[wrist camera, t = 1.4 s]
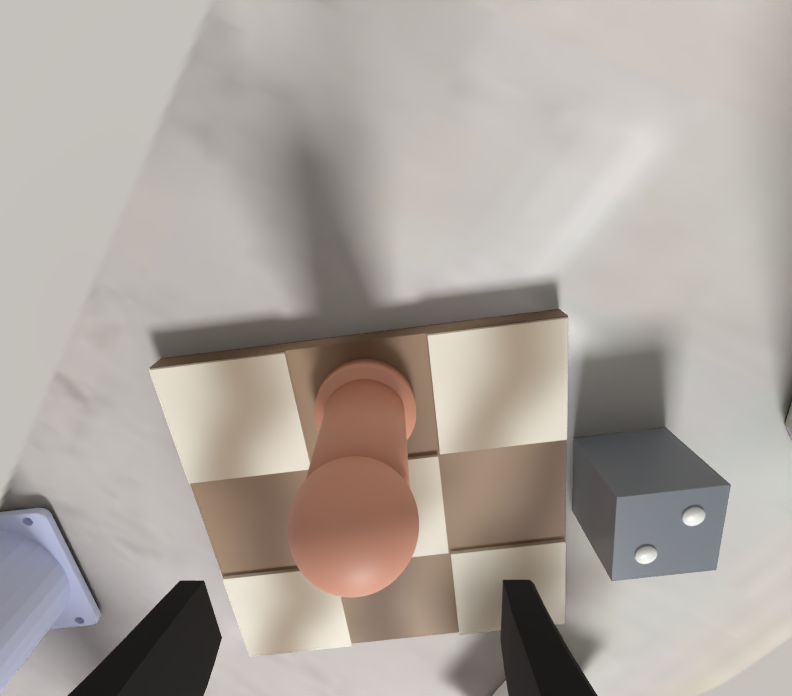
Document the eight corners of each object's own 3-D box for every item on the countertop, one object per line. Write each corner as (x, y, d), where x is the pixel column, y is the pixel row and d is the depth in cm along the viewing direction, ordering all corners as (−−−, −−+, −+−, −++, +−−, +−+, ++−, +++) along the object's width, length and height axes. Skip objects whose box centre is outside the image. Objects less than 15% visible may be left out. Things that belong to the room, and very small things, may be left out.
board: (254, 637, 26) (249, 657, 25) (160, 359, 20) (147, 369, 19) (558, 605, 26) (565, 624, 25) (559, 309, 19) (569, 316, 18)
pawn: (326, 451, 21) (281, 646, 12) (308, 365, 19) (241, 517, 10) (420, 440, 21) (443, 629, 12) (409, 353, 19) (426, 496, 10)
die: (571, 509, 23) (612, 582, 19) (573, 437, 22) (618, 499, 18) (656, 500, 23) (717, 571, 19) (664, 426, 22) (732, 486, 17)
